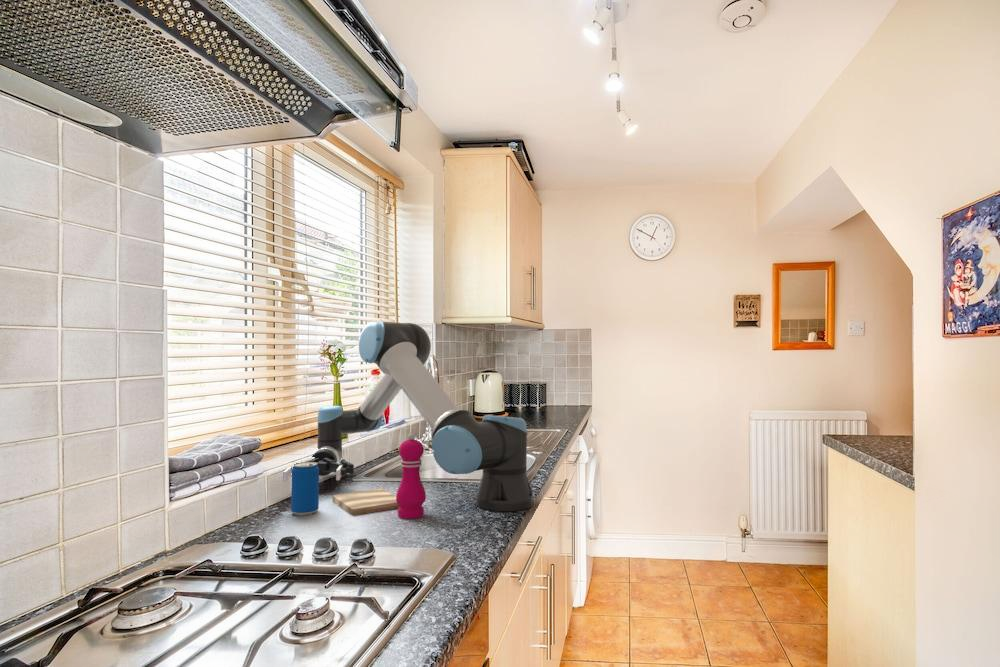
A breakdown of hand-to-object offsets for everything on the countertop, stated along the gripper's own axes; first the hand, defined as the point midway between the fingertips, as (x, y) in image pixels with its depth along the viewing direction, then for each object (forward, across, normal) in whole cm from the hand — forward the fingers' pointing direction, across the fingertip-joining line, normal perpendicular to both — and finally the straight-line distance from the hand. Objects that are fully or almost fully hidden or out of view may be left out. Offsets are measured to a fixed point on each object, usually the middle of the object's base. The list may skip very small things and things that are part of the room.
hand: (311, 476), depth 148 cm
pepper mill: (+15, -26, -7) cm, 31 cm away
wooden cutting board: (+3, -15, -7) cm, 17 cm away
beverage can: (+9, 0, -7) cm, 11 cm away
